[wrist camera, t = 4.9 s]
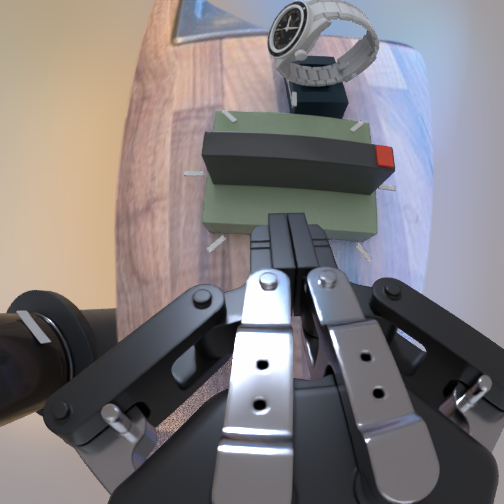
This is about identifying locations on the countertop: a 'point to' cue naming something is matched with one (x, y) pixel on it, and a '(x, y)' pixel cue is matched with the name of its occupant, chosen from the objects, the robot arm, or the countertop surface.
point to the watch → (318, 67)
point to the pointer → (296, 162)
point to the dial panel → (289, 199)
